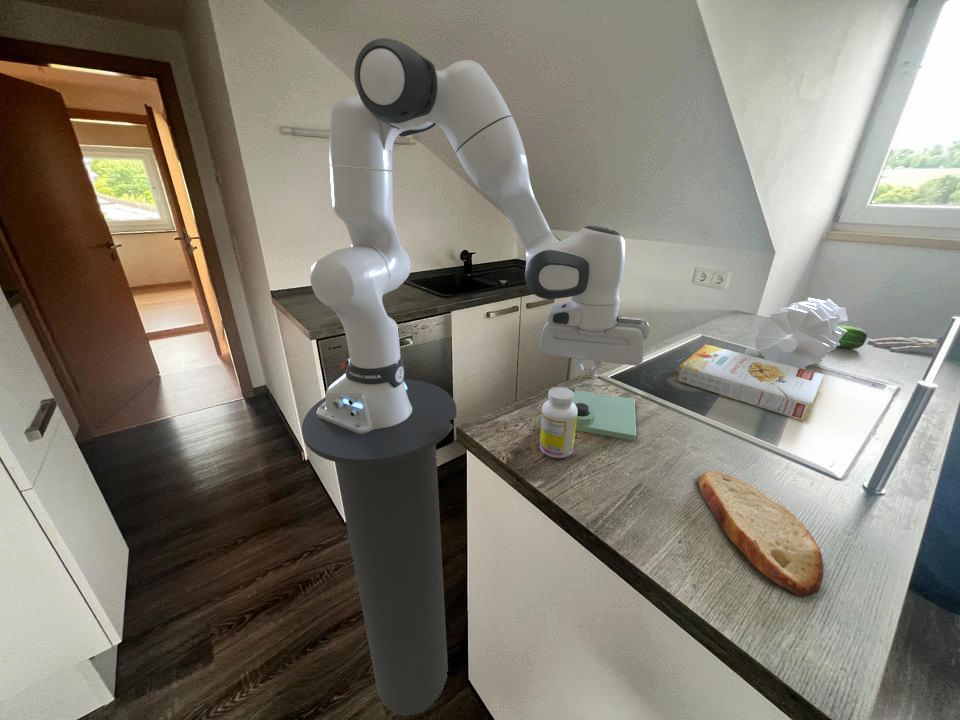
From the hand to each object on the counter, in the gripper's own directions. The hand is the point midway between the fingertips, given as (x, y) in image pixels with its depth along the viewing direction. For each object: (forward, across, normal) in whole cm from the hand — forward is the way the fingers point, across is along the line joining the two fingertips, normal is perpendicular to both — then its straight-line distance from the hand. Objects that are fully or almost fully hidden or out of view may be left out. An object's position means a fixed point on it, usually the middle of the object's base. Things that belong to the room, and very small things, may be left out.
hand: (586, 377), depth 81 cm
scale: (+12, -4, -5) cm, 13 cm away
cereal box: (+12, -39, -32) cm, 52 cm away
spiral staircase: (+12, -57, -57) cm, 82 cm away
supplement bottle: (+12, +4, +11) cm, 16 cm away
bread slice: (+12, -27, +21) cm, 36 cm away
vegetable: (+12, -72, -77) cm, 106 cm away
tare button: (+9, 0, 0) cm, 9 cm away
